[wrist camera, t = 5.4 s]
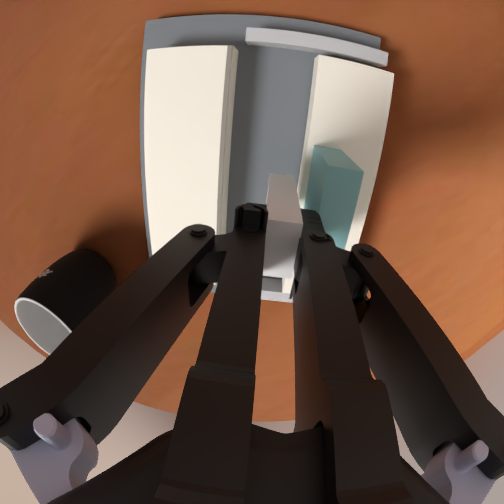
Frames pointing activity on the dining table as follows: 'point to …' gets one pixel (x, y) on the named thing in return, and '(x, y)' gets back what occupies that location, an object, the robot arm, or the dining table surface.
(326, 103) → the white long block
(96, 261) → the mug
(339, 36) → the board
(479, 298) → the dining table surface
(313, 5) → the dining table surface
